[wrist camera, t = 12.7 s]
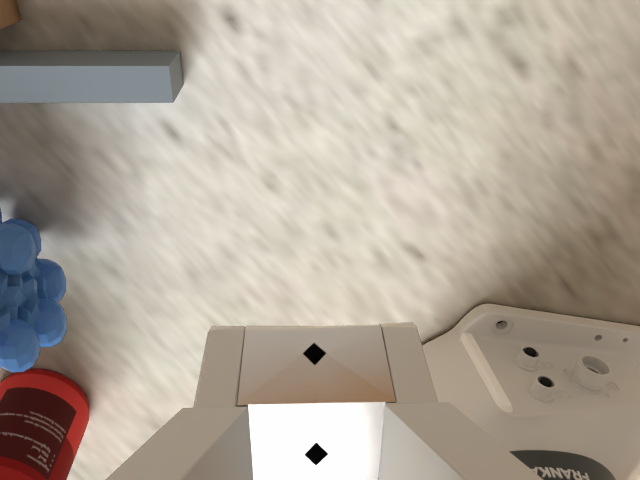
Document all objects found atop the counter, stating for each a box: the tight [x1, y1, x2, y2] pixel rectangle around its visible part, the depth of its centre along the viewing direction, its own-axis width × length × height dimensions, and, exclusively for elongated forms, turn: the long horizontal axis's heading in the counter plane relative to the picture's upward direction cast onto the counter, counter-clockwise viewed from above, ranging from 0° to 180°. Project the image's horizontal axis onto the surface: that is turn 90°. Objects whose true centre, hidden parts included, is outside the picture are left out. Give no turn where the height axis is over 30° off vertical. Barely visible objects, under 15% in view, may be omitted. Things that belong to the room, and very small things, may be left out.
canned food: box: [0, 369, 89, 480], centre depth 44 cm, size 8×8×11 cm
